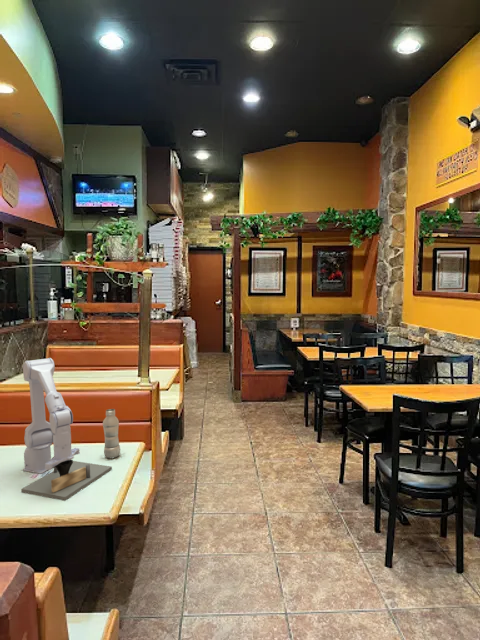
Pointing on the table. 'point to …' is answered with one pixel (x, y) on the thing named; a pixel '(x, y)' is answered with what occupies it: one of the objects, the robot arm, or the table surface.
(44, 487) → the gate board
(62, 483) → the board
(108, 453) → the plastic bottle
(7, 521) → the table surface
